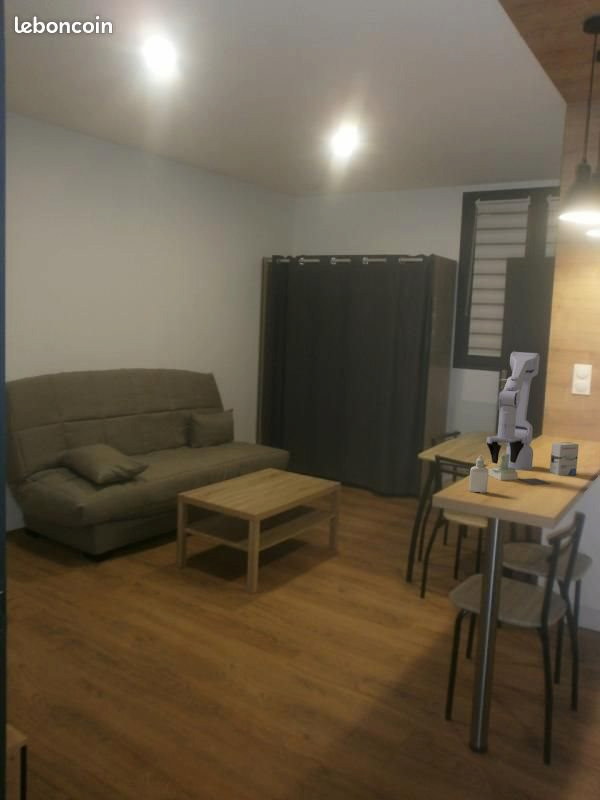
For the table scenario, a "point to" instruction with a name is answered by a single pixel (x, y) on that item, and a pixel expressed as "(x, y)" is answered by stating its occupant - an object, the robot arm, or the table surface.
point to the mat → (534, 481)
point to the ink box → (564, 458)
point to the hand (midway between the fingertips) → (503, 462)
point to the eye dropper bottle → (478, 477)
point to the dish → (503, 475)
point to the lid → (504, 465)
